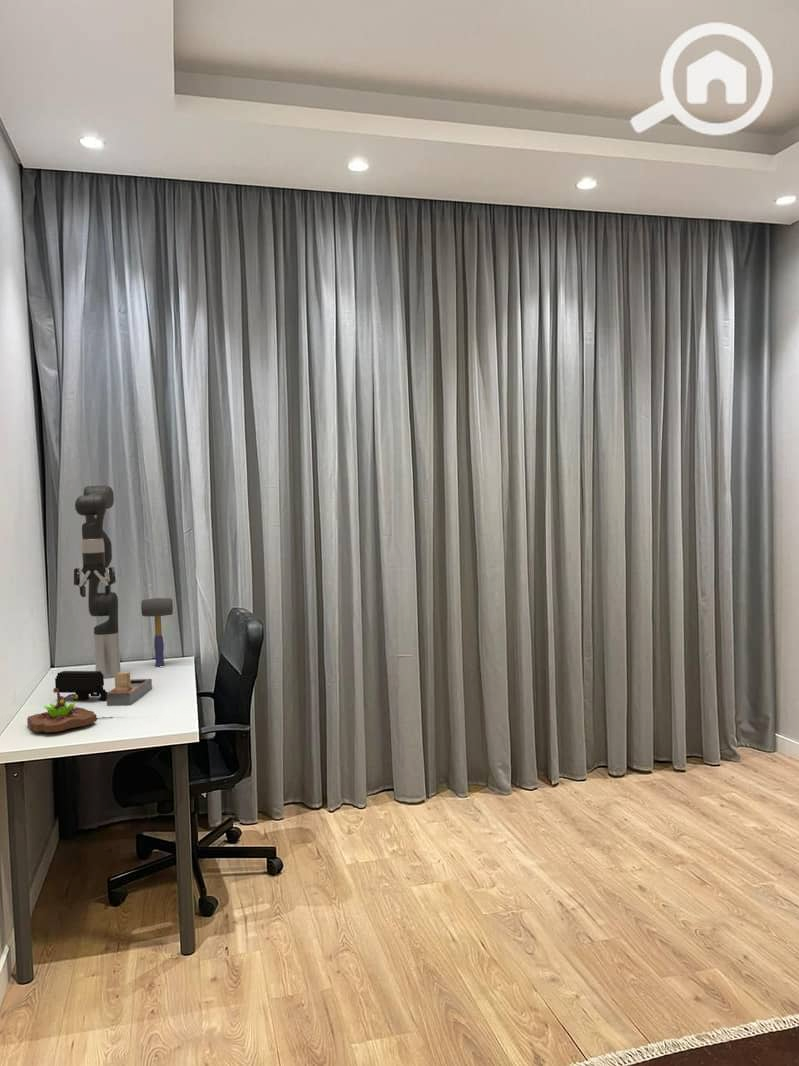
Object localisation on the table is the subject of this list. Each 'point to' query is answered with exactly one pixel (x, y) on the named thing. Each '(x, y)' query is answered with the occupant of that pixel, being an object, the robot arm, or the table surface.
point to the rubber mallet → (157, 622)
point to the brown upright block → (122, 681)
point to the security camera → (81, 684)
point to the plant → (61, 716)
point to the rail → (129, 693)
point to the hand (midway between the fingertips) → (95, 596)
